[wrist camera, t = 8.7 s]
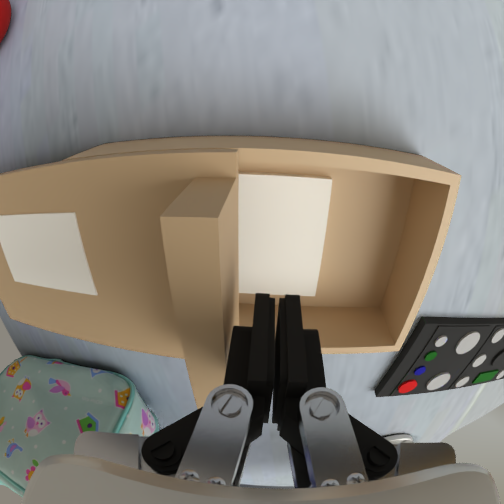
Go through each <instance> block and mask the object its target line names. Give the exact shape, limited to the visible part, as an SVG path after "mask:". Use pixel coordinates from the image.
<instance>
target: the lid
mask: <svg viewBox="0 0 504 504" xmlns="http://www.w3.org/2000/svg"><path fill="white" fill-rule="evenodd" d="M238 189H239V149H189V150H164V151H147V152H134V153H123V154H112V155H103V156H95V157H87V158H79V159H72V160H66V161H60V162H54V163H48V164H42V165H37V166H32V167H27V168H22V169H17V170H13V171H8V172H4V173H0V299H1V301H2V303H3V305H4V307H5V309H6V311H7V313H8V315H9V317H10V318H11V319H13V320H16V321H19V322H22V323H25V324H28V325H31V326H35V327H38V328H41V329H44V330H48V331H51V332H55V333H58V334H62V335H66V336H69V337H73V338H77V339H81V340H85V341H89V342H94V343H98V344H102V345H107V346H112V347H116V348H121V349H126V350H132V351H137V352H143V353H149V354H155V355H161V356H167V357H174V358H182V359H185V362H186V366H187V370H188V374H189V378H190V382H191V386H192V390H193V394H194V398H195V401H196V405H197V408H198V409H199V408H201V407H203V406H204V403H205V401H206V398H207V396H208V395H209V393H210V392H211V391H212V390H213V389H214V388H216V387H218V386H221V385H223V384H224V378H225V372H226V366H227V360H228V354H229V348H230V342H231V336H232V330H233V326H239V243H238Z"/></svg>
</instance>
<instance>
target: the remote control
mask: <svg viewBox="0 0 504 504" xmlns="http://www.w3.org/2000/svg"><path fill="white" fill-rule="evenodd" d="M503 378H504V318H448V317H422V318H421V319H420V321H419V323H418V325H417V326H416V328H415V330H414V332H413V333H412V335H411V337H410V338H409V340H408V341H407V343H406V345H405V346H404V348H403V350H402V351H401V353H400V354H399V356H398V357H397V359H396V360H395V362H394V363H393V365H392V366H391V368H390V369H389V371H388V372H387V374H386V375H385V376H384V378H383V379H382V381H381V382H380V383H379V385H378V386H377V388H376V389H375V395H376V397H384V396H398V395H410V394H419V393H428V392H435V391H443V390H449V389H455V388H461V387H466V386H472V385H477V384H481V383H486V382H490V381H495V380H499V379H503Z"/></svg>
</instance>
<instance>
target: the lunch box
mask: <svg viewBox="0 0 504 504" xmlns="http://www.w3.org/2000/svg"><path fill="white" fill-rule="evenodd" d="M85 431H97V432H108V433H121V434H139V435H140V436H146V437H149V436H151V435H152V434H154V433H156V432H158V431H159V425H158V420H157V417H156V416H155V414H154V413H153V412H151V411H150V410H149V409H148V408H147V406H146V405H145V403H144V402H143V400H142V398H141V397H140V395H139V394H138V392H137V390H136V387H135V385H134V384H133V383H132V382H131V381H130V380H129V379H128V378H127V377H125V376H123V375H121V374H118V373H115V372H111V371H106V370H100V369H93V368H88V367H83V366H78V365H74V364H70V363H67V362H64V361H63V360H61V359H46V358H40V357H36V356H32V355H26V356H23V357H20V358H18V359H16V360H14V362H12V363H11V364H10V365H8V366H7V367H6V368H5V369H4V370H3V371H2V372H1V374H0V485H5V486H7V487H8V488H10V489H11V490H13V491H14V492H15V493H17V494H19V495H20V496H21V497H22V498H23V495H24V493H25V490H26V487H27V485H28V483H29V480H30V478H31V476H32V474H33V473H34V471H35V469H36V468H37V466H38V465H39V464H40V462H41V461H42V460H44V459H45V458H47V457H49V456H52V455H58V454H74V446H75V442H76V439H77V437H78V436H79V435H80V434H81V433H83V432H85Z"/></svg>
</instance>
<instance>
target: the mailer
mask: <svg viewBox="0 0 504 504" xmlns="http://www.w3.org/2000/svg"><path fill="white" fill-rule="evenodd" d="M189 149H239V189H238V243H239V326H248V327H252V326H253V315H254V304H255V294H256V293H267V294H270V297H271V298H275V335H276V326H277V316H278V307H279V298H285V294H288V295H300V303H301V312H302V322H303V329H317V330H318V332H319V338H320V345H321V352H322V354H350V353H376V352H392V351H399V350H400V349H401V347H402V345H403V343H404V341H405V339H406V337H407V335H408V333H409V330H410V328H411V326H412V324H413V322H414V320H415V318H416V315H417V313H418V311H419V309H420V306H421V304H422V302H423V299H424V297H425V294H426V292H427V289H428V287H429V284H430V282H431V279H432V276H433V274H434V271H435V268H436V266H437V263H438V260H439V257H440V254H441V251H442V248H443V245H444V242H445V238H446V235H447V232H448V228H449V225H450V221H451V217H452V214H453V210H454V206H455V202H456V198H457V193H458V189H459V184H460V179H461V175H459V174H457V173H455V172H454V171H452V170H450V169H448V168H446V167H444V166H442V165H440V164H438V163H436V162H434V161H432V160H430V159H428V158H426V157H423V156H421V155H417V154H412V153H407V152H401V151H396V150H390V149H384V148H378V147H372V146H365V145H358V144H351V143H343V142H334V141H324V140H314V139H302V138H287V137H268V136H186V137H167V138H152V139H140V140H130V141H121V142H112V143H105V144H102V145H99V146H97V147H94V148H91V149H89V150H86V151H83V152H81V153H78V154H76V155H73V156H71V157H68V158H66V159H64V160H62V161H66V160H72V159H79V158H87V157H95V156H103V155H112V154H123V153H134V152H147V151H164V150H189Z"/></svg>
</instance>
